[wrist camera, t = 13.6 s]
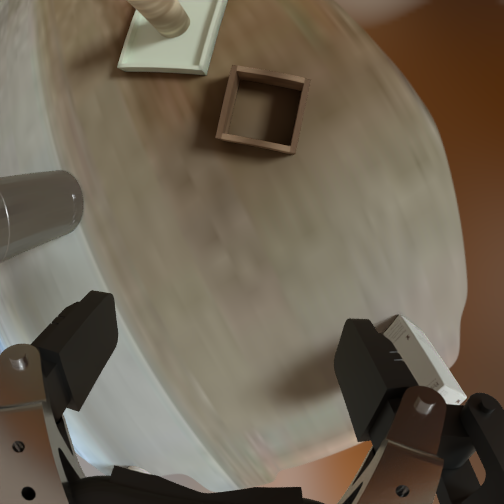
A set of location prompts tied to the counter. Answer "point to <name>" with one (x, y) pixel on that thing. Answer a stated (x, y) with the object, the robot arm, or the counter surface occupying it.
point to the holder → (266, 78)
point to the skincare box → (423, 360)
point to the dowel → (164, 16)
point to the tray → (174, 42)
